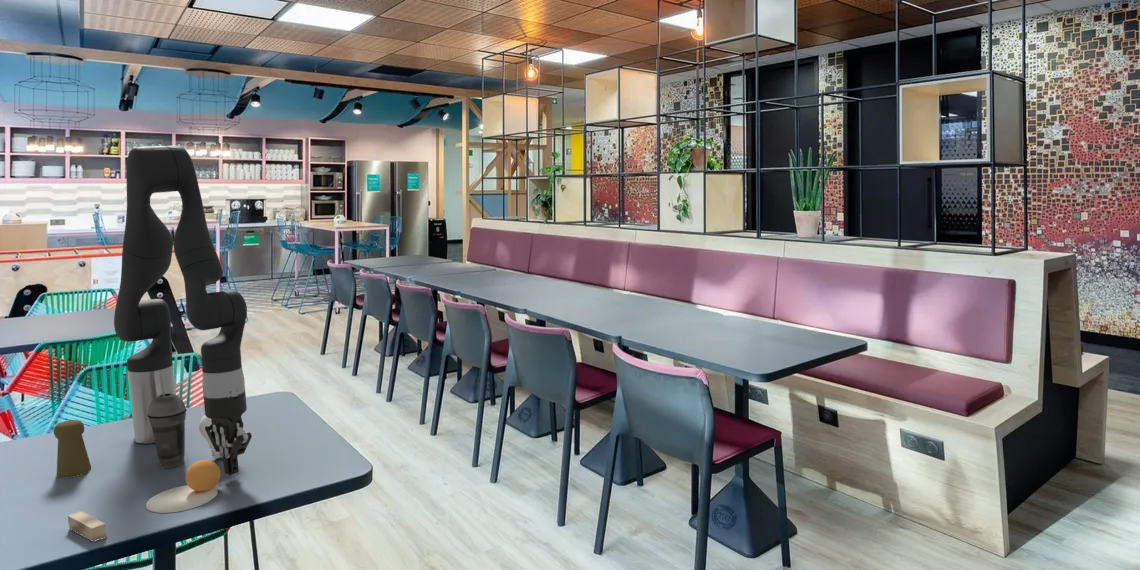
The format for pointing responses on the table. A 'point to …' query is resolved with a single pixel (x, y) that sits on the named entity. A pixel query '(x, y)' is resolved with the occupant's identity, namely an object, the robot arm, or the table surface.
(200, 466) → the ball
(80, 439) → the cork
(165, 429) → the beverage cup
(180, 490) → the plate
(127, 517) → the table surface
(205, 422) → the light bulb
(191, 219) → the robot arm
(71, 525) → the rail
